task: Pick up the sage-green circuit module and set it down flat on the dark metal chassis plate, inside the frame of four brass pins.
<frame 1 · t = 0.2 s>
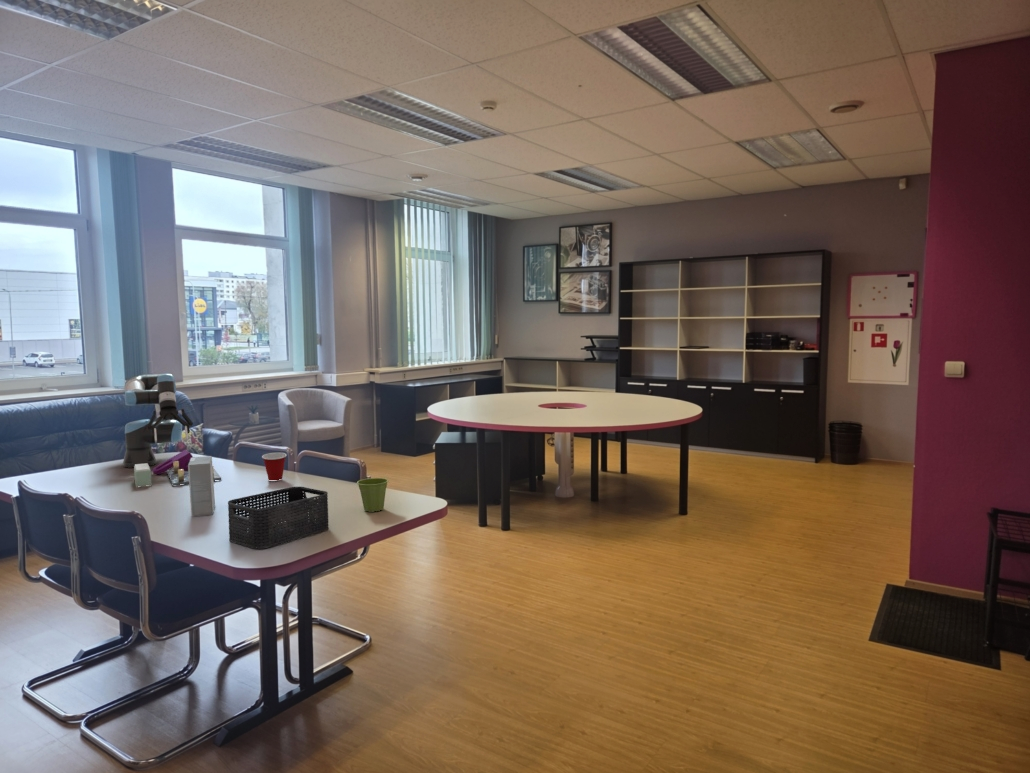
hand: (171, 440, 327), 16 cm above the table, tool tilted 35°, fingers open, 13 cm apart
storage bin: (280, 535, 225), on the table
plant pot: (373, 510, 254), on the table
plastic cup: (275, 480, 307), on the table
chassis plate: (193, 477, 316), on the table
hard drive box: (203, 511, 256), on the table
mounting bracket: (173, 472, 329), on the table
circuit module: (143, 483, 305), on the table
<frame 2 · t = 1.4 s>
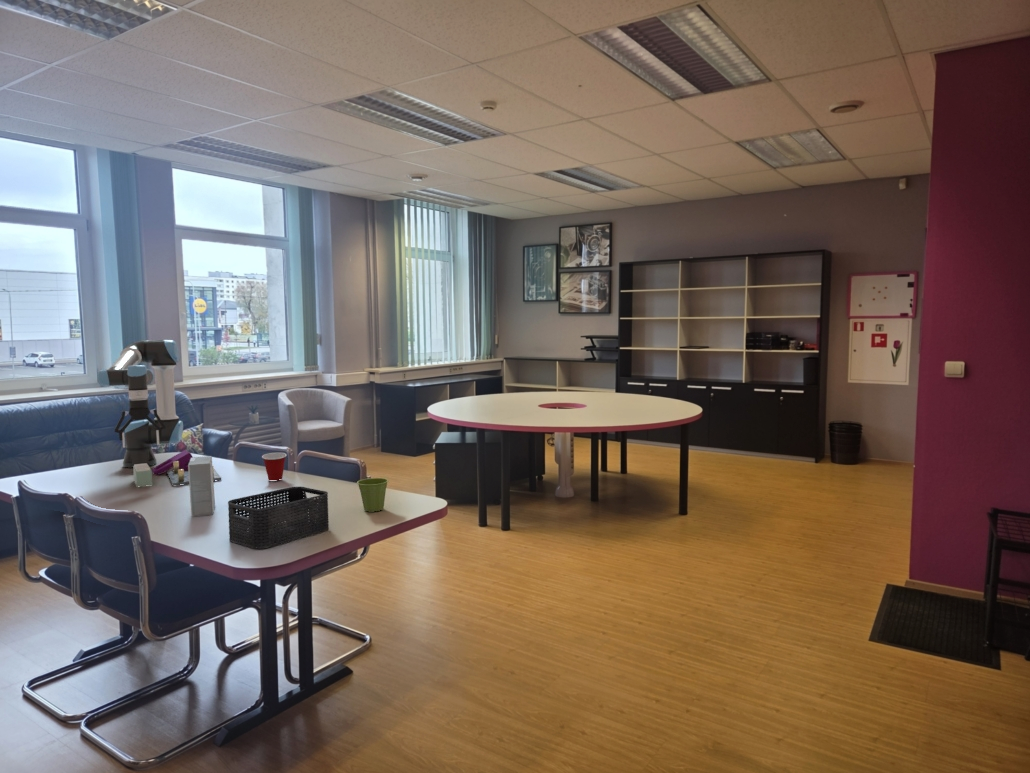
hand: (141, 446, 303), 17 cm above the table, tool pointing down, fingers open, 13 cm apart
nothing on the table moved.
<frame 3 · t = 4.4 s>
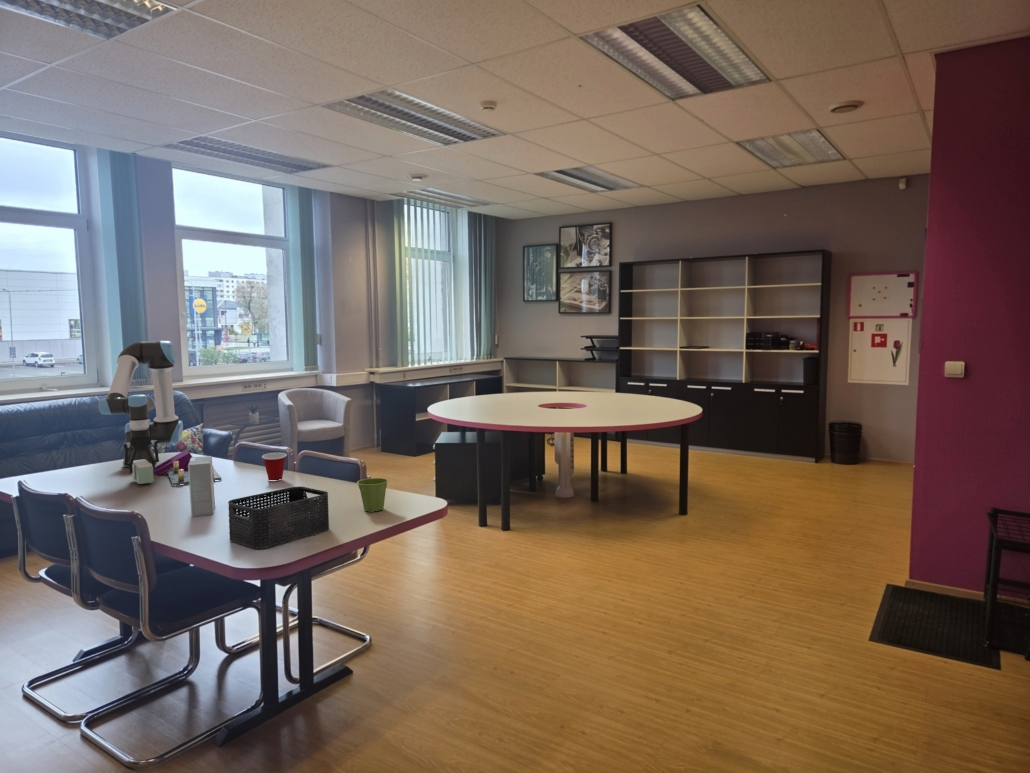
hand: (143, 478, 305), 2 cm above the table, tool pointing down, fingers closed on circuit module, 6 cm apart
circuit module: (142, 479, 305), point 2 cm above the table, touching gripper
everything else where it was.
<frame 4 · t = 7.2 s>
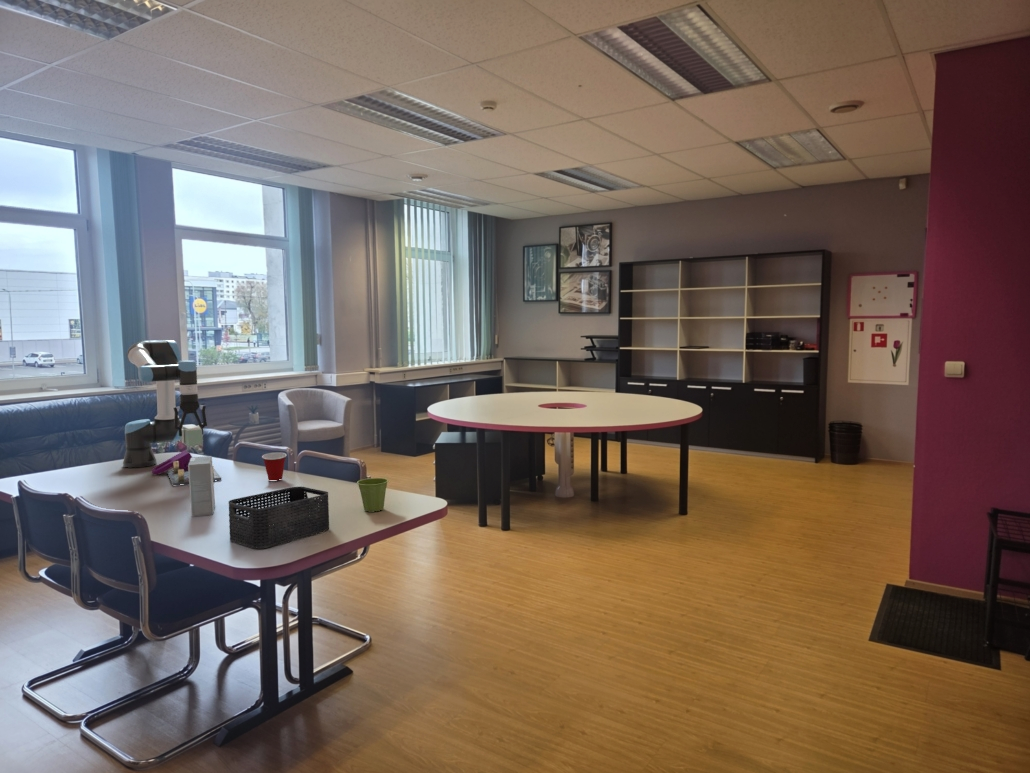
hand: (191, 442, 314), 17 cm above the table, tool pointing down, fingers closed on circuit module, 6 cm apart
circuit module: (191, 443, 314), point 16 cm above the table, touching gripper
everything else where it was.
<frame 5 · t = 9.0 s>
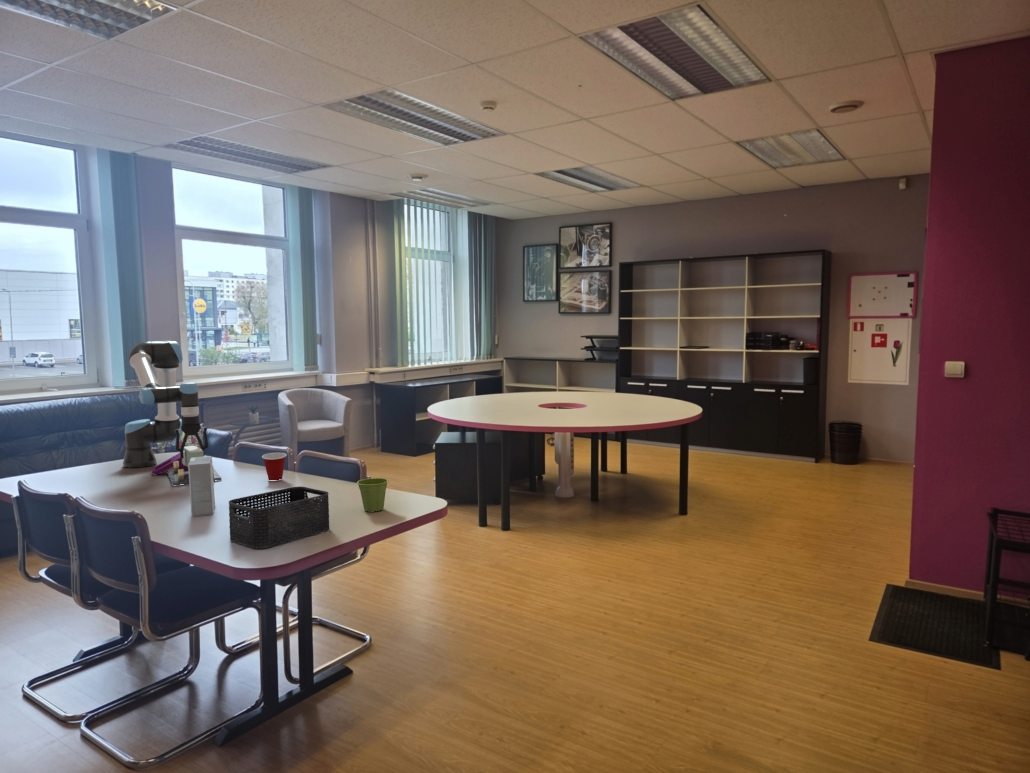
hand: (193, 464, 315), 6 cm above the table, tool pointing down, fingers closed on circuit module, 6 cm apart
circuit module: (193, 464, 315), point 6 cm above the table, touching gripper
everything else where it was.
when the fingers open (2 cm above the table, at t = 10.2 s): circuit module stays where it is, resting on chassis plate.
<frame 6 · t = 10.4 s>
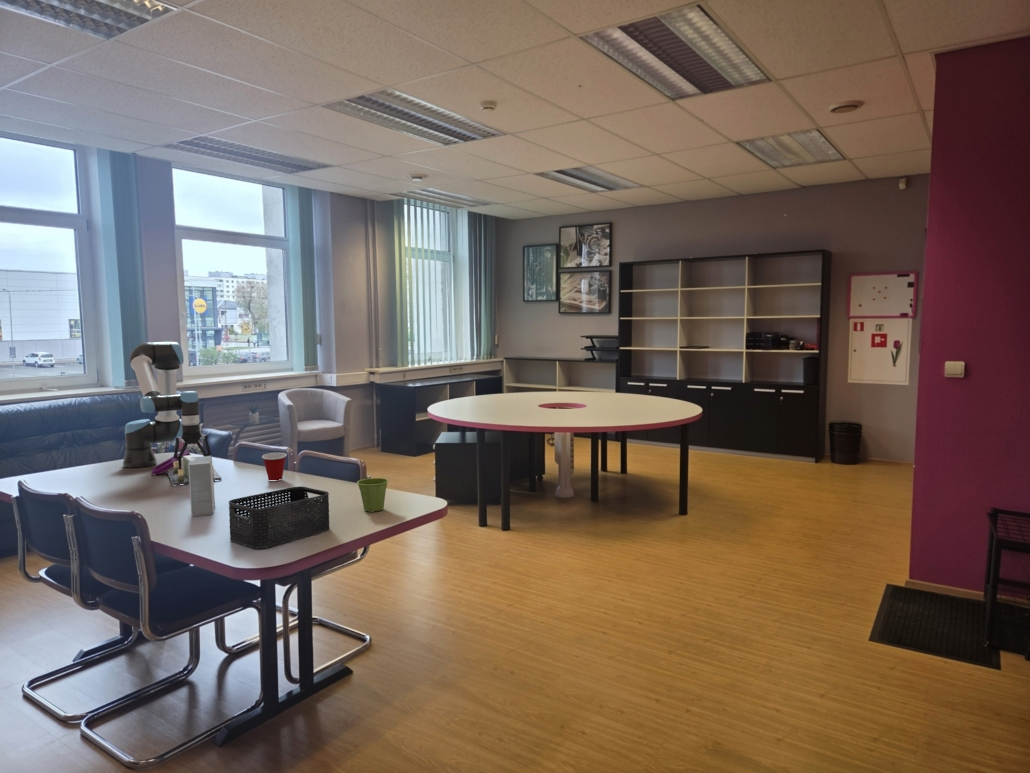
hand: (193, 471, 315), 3 cm above the table, tool pointing down, fingers open, 8 cm apart
circuit module: (193, 474, 316), point 1 cm above the table, touching chassis plate
everything else where it was.
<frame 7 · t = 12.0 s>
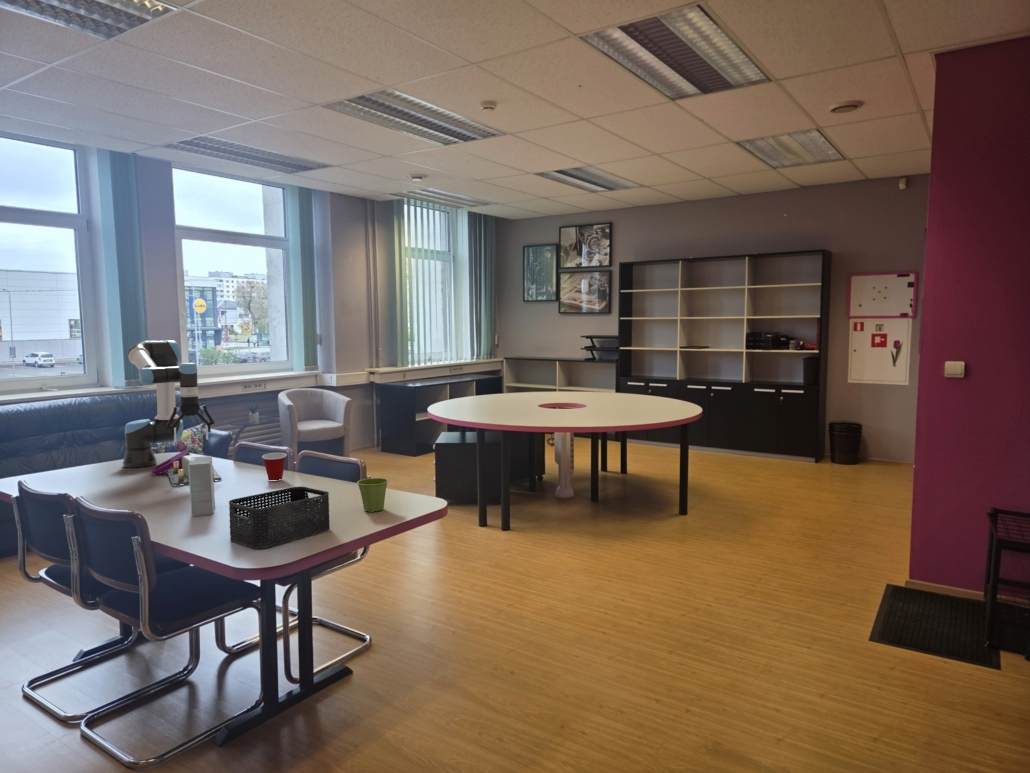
hand: (191, 440, 314), 18 cm above the table, tool pointing down, fingers open, 13 cm apart
nothing on the table moved.
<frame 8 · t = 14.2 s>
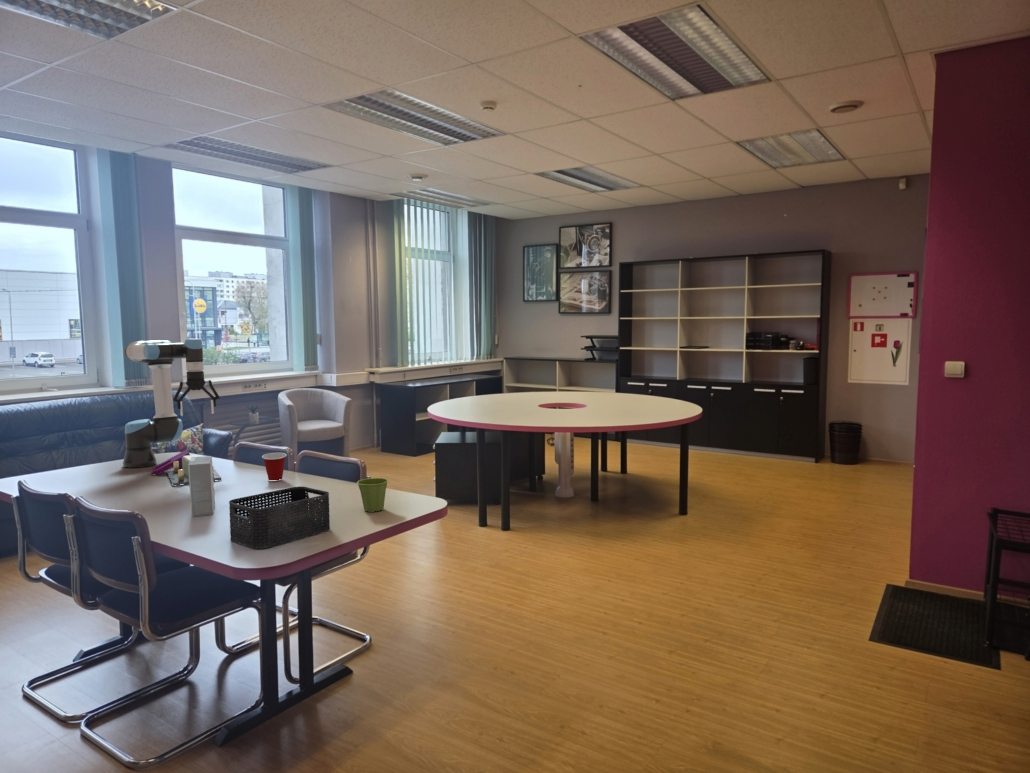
hand: (197, 414, 323), 29 cm above the table, tool pointing down, fingers open, 13 cm apart
nothing on the table moved.
at the end: circuit module 0.2 cm off-centre on the chassis plate, point 1.5 cm above the chassis plate's base; circuit module tilted 0°; the gripper is holding nothing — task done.
